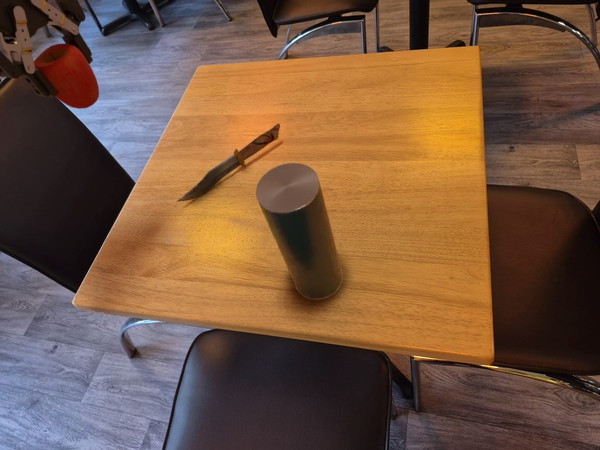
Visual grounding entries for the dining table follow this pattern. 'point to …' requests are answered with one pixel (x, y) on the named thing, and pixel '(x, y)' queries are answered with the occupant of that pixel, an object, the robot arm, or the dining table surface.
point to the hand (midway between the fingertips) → (69, 78)
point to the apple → (69, 75)
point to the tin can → (301, 228)
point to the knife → (231, 164)
